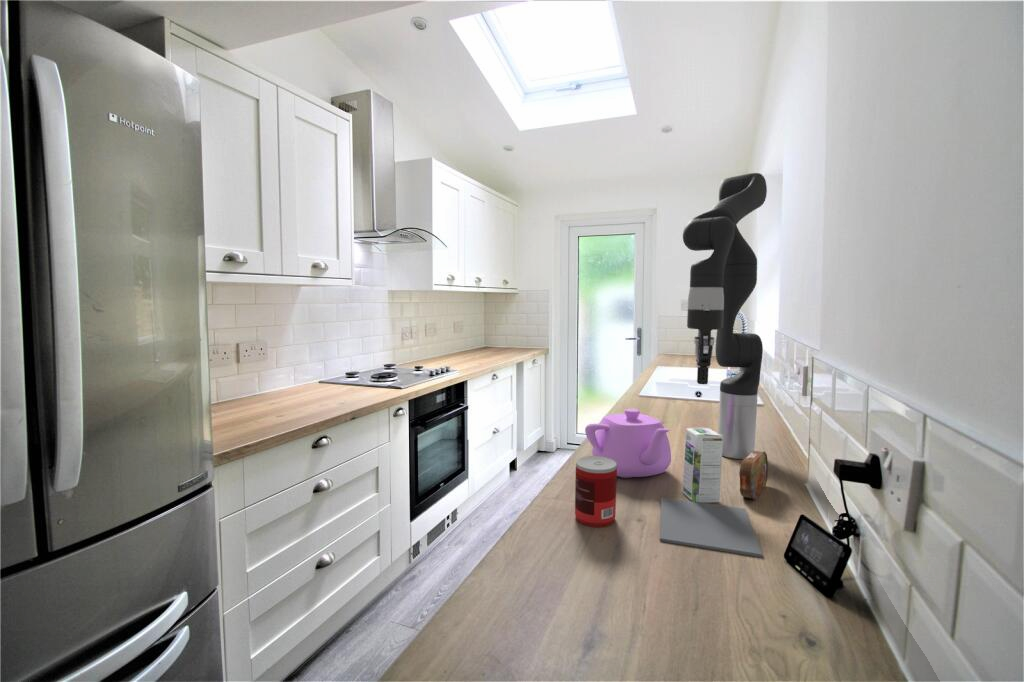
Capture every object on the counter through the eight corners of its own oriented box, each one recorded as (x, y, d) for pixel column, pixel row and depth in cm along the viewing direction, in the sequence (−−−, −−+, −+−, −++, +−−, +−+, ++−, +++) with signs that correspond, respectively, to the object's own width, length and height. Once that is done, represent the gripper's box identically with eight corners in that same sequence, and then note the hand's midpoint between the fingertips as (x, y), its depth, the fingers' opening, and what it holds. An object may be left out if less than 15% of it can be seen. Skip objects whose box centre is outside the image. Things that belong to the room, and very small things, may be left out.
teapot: (570, 463, 121) (571, 405, 120) (642, 455, 127) (643, 400, 126) (615, 498, 100) (617, 428, 98) (698, 487, 106) (701, 422, 105)
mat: (661, 499, 99) (661, 497, 99) (745, 510, 94) (745, 508, 94) (659, 540, 82) (660, 538, 82) (762, 557, 77) (762, 554, 77)
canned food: (617, 512, 93) (619, 458, 92) (612, 531, 85) (614, 472, 85) (579, 506, 95) (580, 453, 95) (570, 524, 88) (572, 466, 87)
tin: (751, 505, 97) (754, 465, 96) (735, 501, 99) (737, 462, 98) (768, 484, 108) (770, 448, 108) (753, 480, 111) (755, 445, 110)
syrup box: (681, 492, 103) (684, 427, 102) (707, 491, 103) (710, 427, 102) (693, 503, 97) (696, 435, 96) (721, 503, 98) (724, 434, 97)
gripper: (686, 307, 114) (683, 378, 115) (689, 308, 101) (686, 387, 103) (720, 307, 112) (717, 380, 113) (727, 308, 99) (723, 389, 100)
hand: (702, 383), depth 108 cm, fingers closed
